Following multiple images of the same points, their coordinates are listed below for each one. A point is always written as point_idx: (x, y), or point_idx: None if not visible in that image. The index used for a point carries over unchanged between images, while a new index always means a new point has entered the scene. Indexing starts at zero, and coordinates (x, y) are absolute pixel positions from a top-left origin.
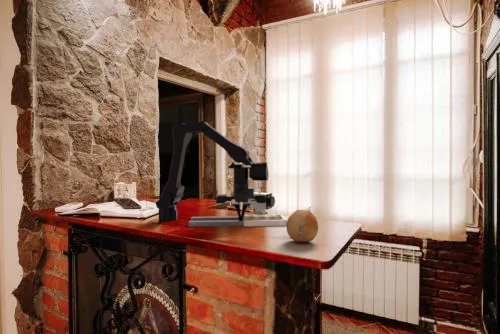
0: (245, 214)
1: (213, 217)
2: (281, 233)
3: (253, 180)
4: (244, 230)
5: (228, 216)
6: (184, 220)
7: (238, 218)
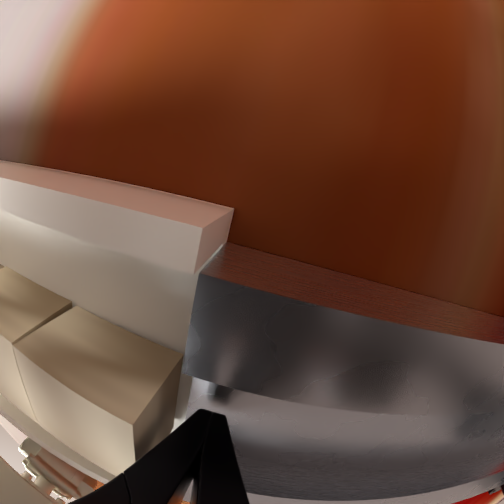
0: None
1: (437, 494)
2: (23, 16)
3: None
4: (251, 130)
5: None
6: None
7: None
